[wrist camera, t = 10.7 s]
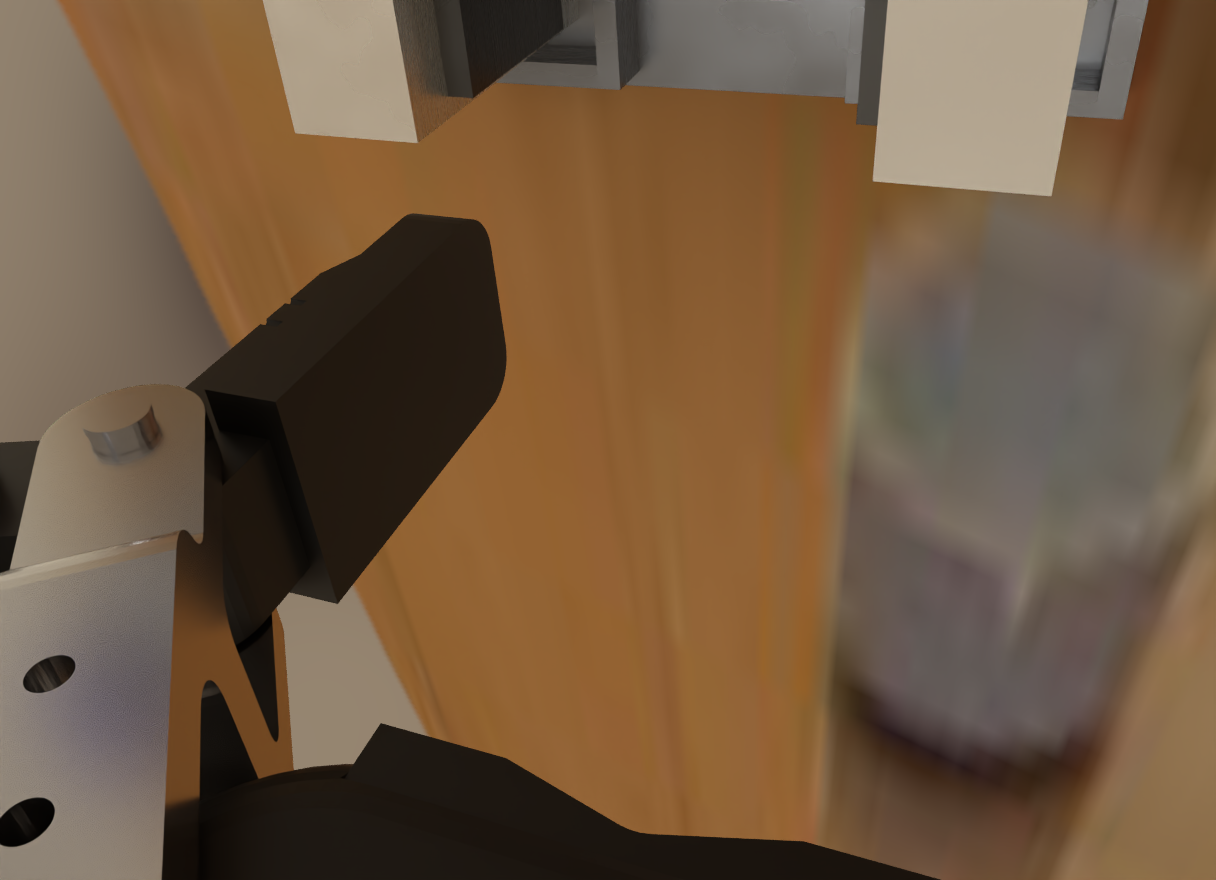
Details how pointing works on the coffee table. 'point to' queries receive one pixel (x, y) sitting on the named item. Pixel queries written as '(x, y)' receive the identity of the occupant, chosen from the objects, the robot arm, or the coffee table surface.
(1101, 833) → the coffee table surface
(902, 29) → the block
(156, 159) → the coffee table surface
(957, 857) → the coffee table surface
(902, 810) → the coffee table surface
